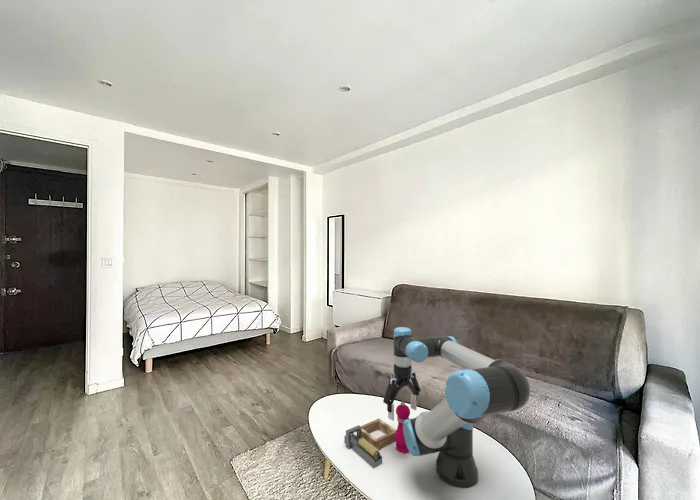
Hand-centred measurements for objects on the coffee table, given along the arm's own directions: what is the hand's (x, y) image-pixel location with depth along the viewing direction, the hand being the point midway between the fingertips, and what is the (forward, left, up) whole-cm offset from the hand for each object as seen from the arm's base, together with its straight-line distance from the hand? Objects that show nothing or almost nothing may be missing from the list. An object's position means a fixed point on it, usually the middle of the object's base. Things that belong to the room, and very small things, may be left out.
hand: (402, 414), depth 131 cm
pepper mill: (0, 0, -15) cm, 15 cm away
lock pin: (+4, +16, -12) cm, 20 cm away
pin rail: (+8, +16, -15) cm, 23 cm away
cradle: (+12, +4, -15) cm, 19 cm away
